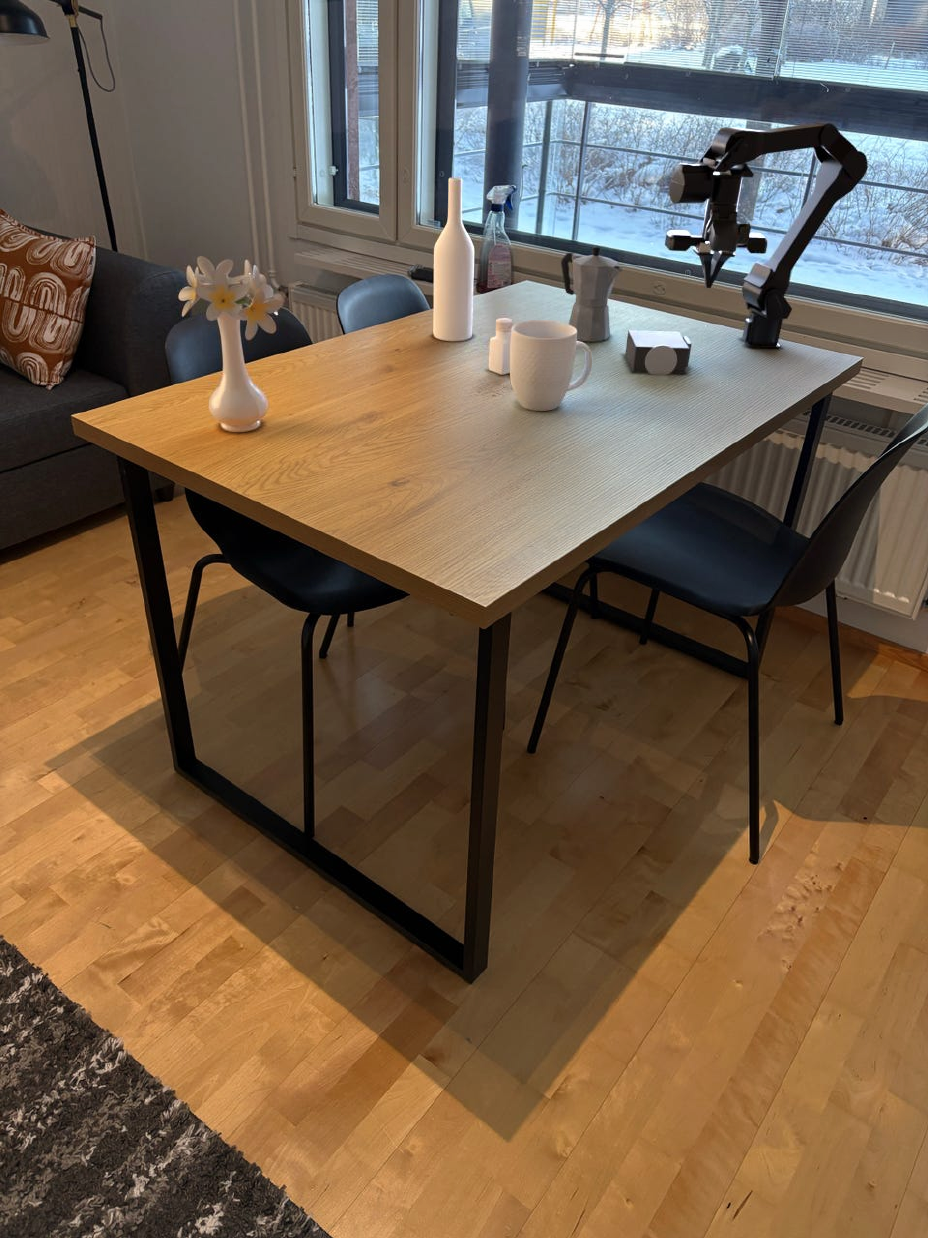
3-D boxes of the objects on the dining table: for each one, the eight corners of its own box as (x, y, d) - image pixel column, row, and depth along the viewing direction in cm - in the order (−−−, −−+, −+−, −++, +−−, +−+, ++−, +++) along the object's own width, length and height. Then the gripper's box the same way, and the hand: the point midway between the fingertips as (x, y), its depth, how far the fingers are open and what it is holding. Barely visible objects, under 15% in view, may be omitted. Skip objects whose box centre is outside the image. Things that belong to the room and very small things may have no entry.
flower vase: (255, 452, 137) (237, 281, 123) (175, 423, 146) (149, 260, 132) (315, 427, 146) (304, 265, 132) (236, 401, 155) (218, 246, 141)
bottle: (425, 336, 189) (426, 178, 172) (448, 328, 195) (450, 173, 178) (457, 343, 185) (460, 182, 169) (479, 335, 191) (484, 178, 174)
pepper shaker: (501, 376, 169) (504, 324, 164) (487, 370, 172) (489, 319, 167) (517, 371, 172) (520, 320, 166) (502, 366, 174) (505, 316, 169)
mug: (573, 389, 164) (580, 316, 157) (601, 410, 156) (610, 333, 149) (497, 397, 160) (501, 322, 153) (522, 419, 151) (527, 340, 144)
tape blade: (683, 359, 179) (686, 335, 177) (687, 367, 175) (691, 343, 173) (634, 357, 179) (637, 334, 177) (637, 365, 175) (641, 342, 173)
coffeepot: (626, 338, 192) (637, 248, 182) (598, 347, 186) (608, 254, 176) (570, 322, 201) (578, 235, 191) (542, 330, 195) (548, 241, 185)
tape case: (674, 358, 182) (679, 328, 179) (684, 377, 173) (690, 345, 170) (624, 357, 182) (628, 327, 179) (632, 375, 173) (636, 344, 170)
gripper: (681, 208, 166) (668, 296, 174) (783, 211, 166) (765, 299, 174) (670, 198, 175) (658, 282, 183) (767, 201, 175) (750, 285, 184)
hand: (708, 287), depth 181 cm, fingers closed
